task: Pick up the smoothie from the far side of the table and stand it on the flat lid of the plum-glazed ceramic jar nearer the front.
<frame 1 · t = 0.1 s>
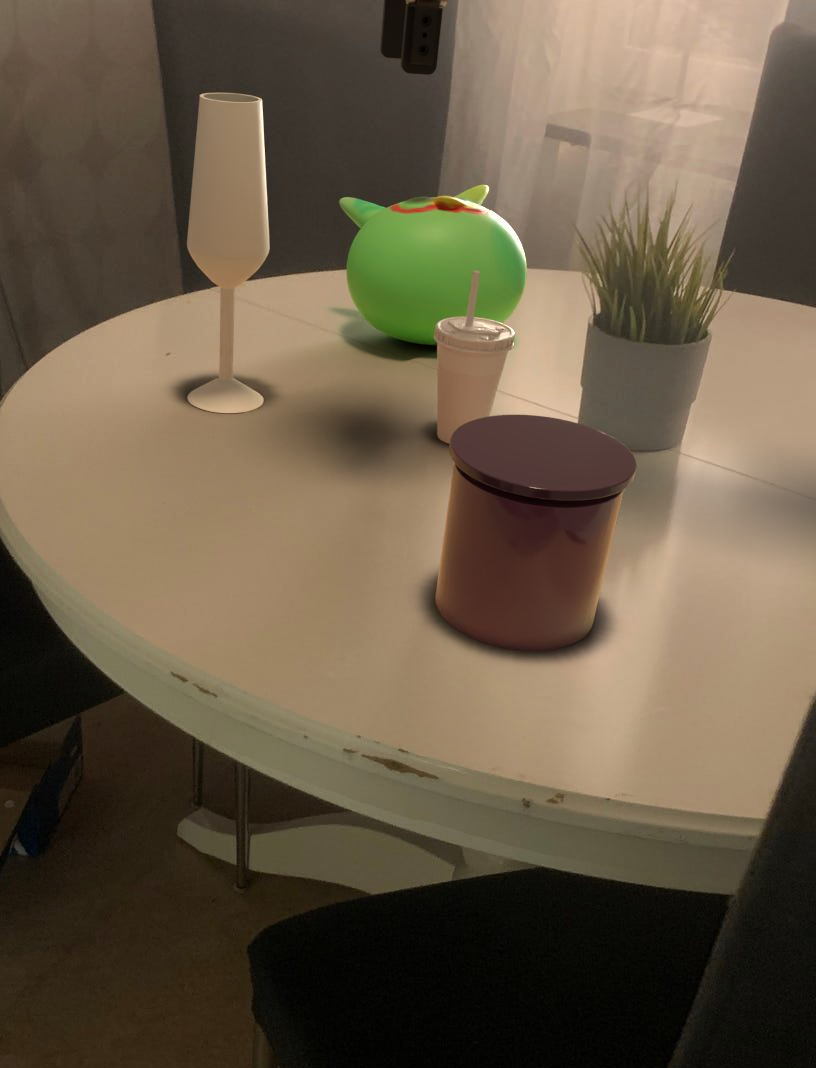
hand: (406, 65, 75), 28 cm above the table, tool pointing down, fingers open, 8 cm apart
jar: (512, 613, 71), on the table
smoothie: (458, 444, 93), on the table
green rounded blob: (426, 340, 116), on the table
champagne flute: (225, 400, 98), on the table
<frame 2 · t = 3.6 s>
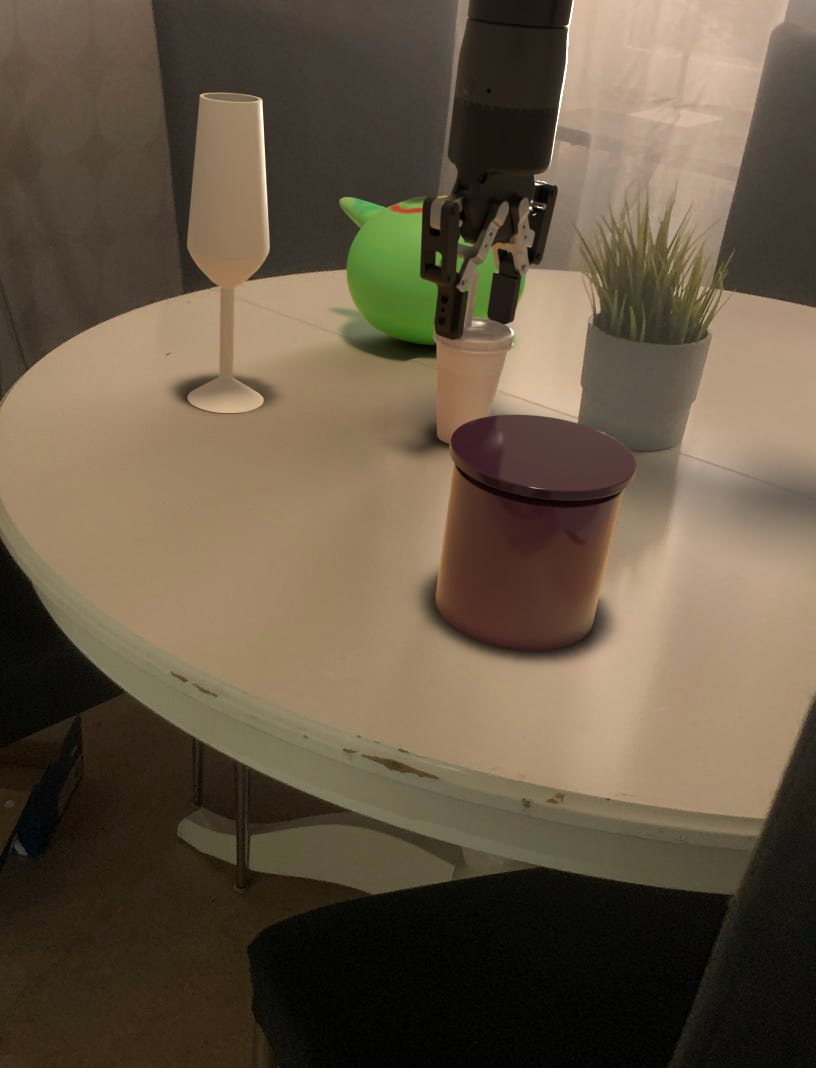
hand: (474, 328, 88), 10 cm above the table, tool pointing down, fingers closed on smoothie, 6 cm apart
smoothie: (458, 444, 93), on the table, touching gripper
everything else where it was.
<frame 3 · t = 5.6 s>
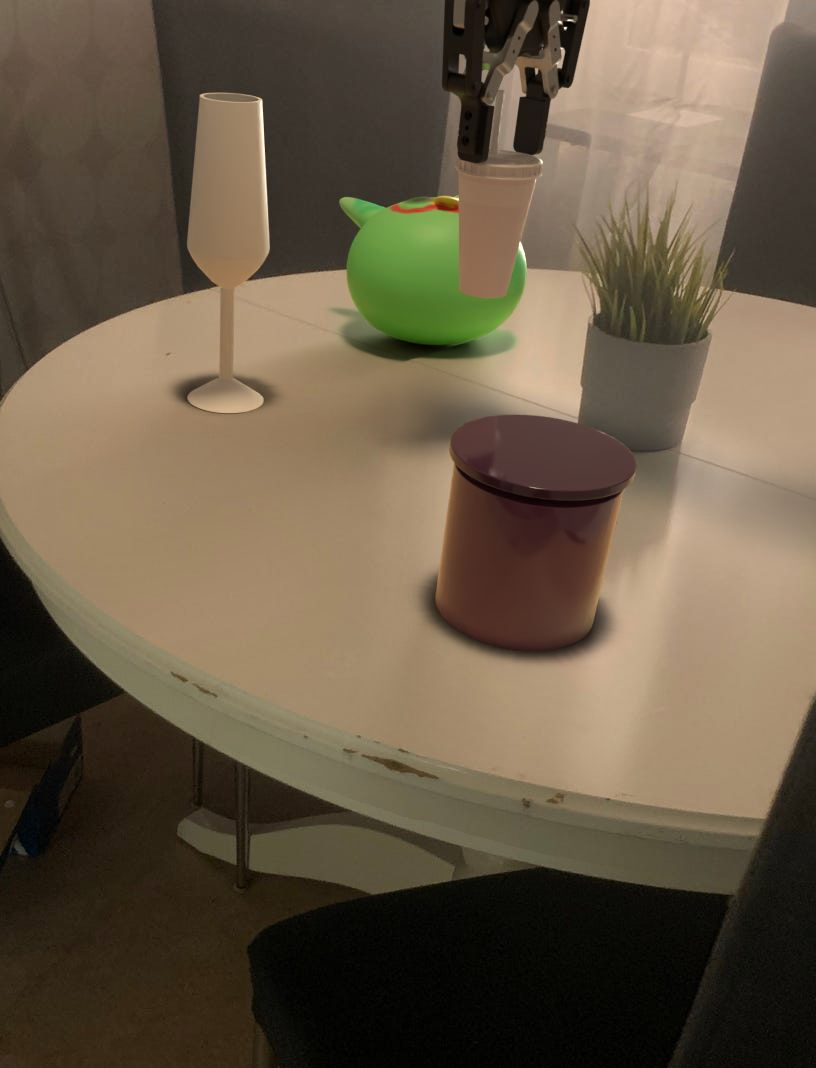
hand: (500, 156, 81), 22 cm above the table, tool pointing down, fingers closed on smoothie, 6 cm apart
smoothie: (482, 293, 86), point 12 cm above the table, touching gripper
everything else where it was.
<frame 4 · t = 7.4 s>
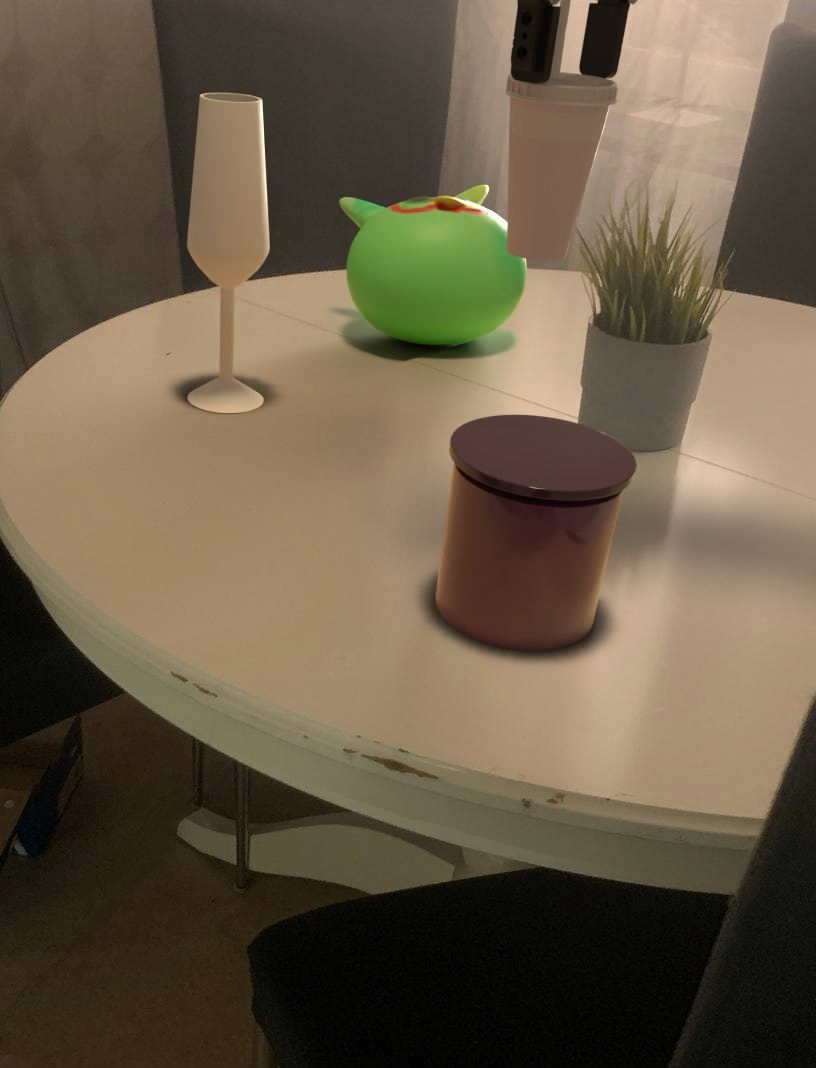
hand: (564, 78, 64), 29 cm above the table, tool pointing down, fingers closed on smoothie, 6 cm apart
smoothie: (536, 255, 69), point 20 cm above the table, touching gripper
everything else where it was.
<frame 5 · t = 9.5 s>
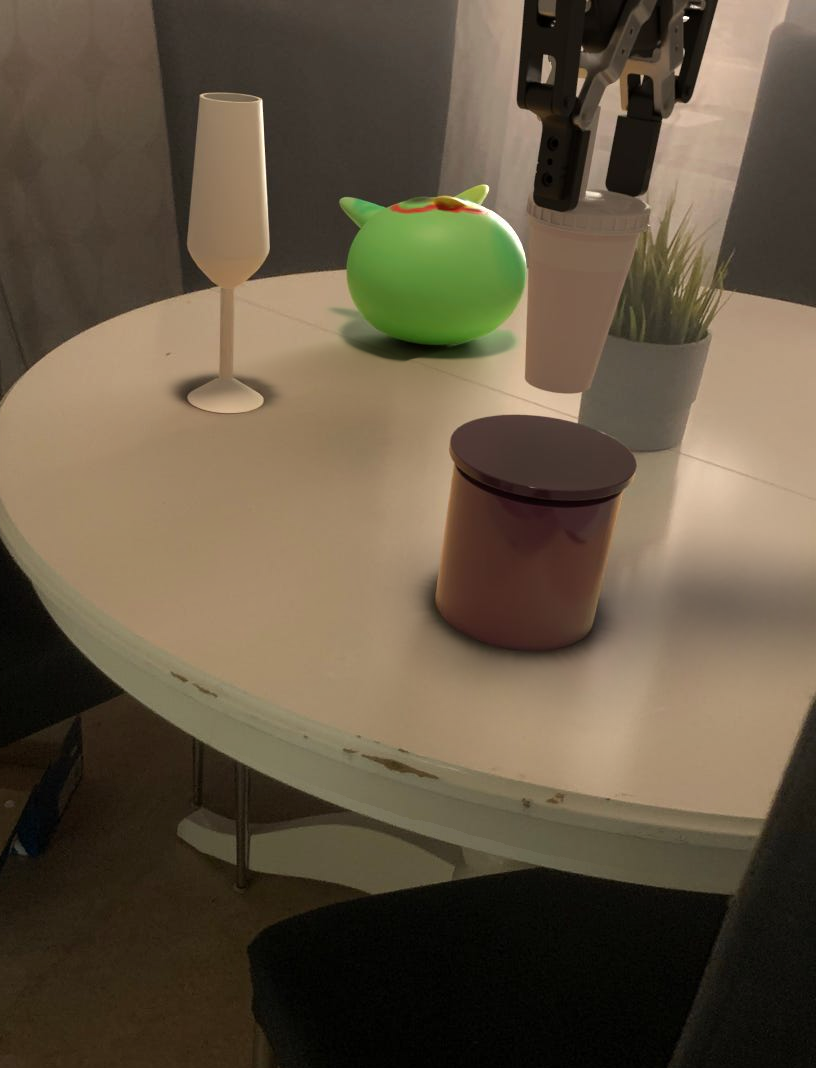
hand: (591, 199, 57), 25 cm above the table, tool pointing down, fingers closed on smoothie, 6 cm apart
smoothie: (557, 384, 63), point 15 cm above the table, touching gripper
everything else where it was.
when the fingers open (21 cm above the table, at t = 11.2 s): smoothie stays where it is, resting on jar.
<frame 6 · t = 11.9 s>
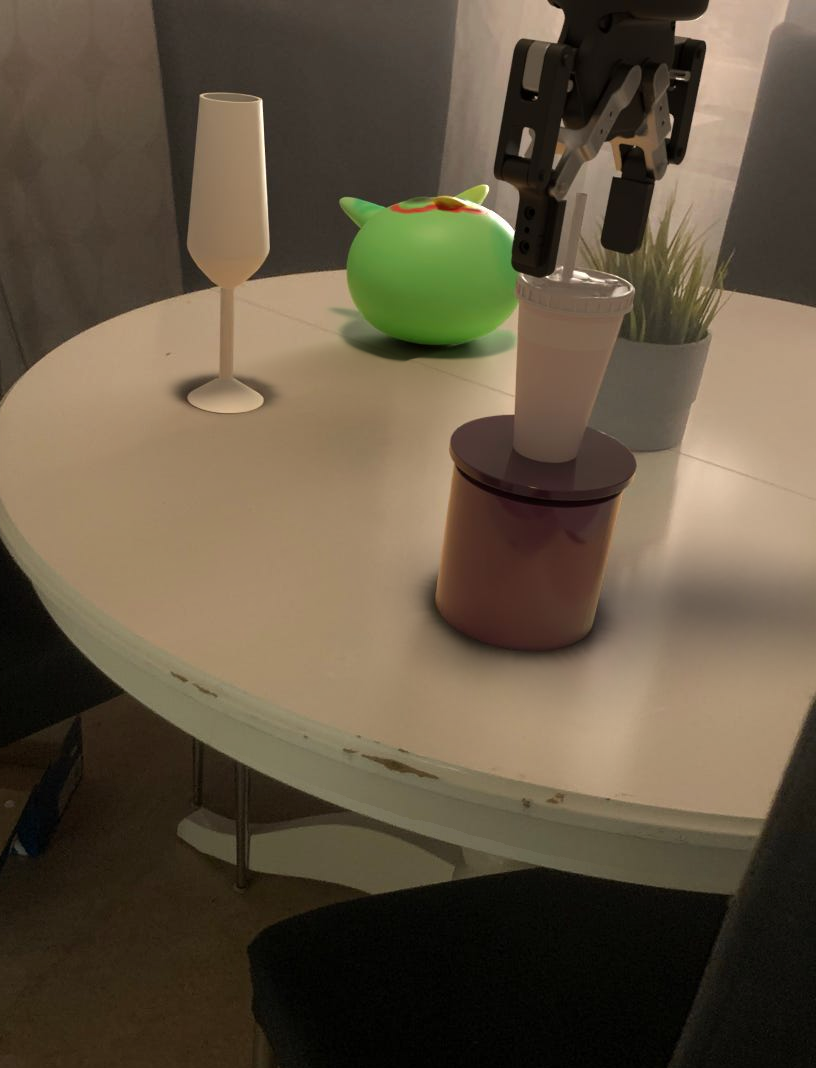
hand: (577, 261, 59), 22 cm above the table, tool pointing down, fingers open, 8 cm apart
smoothie: (544, 452, 65), point 11 cm above the table, touching jar
everything else where it was.
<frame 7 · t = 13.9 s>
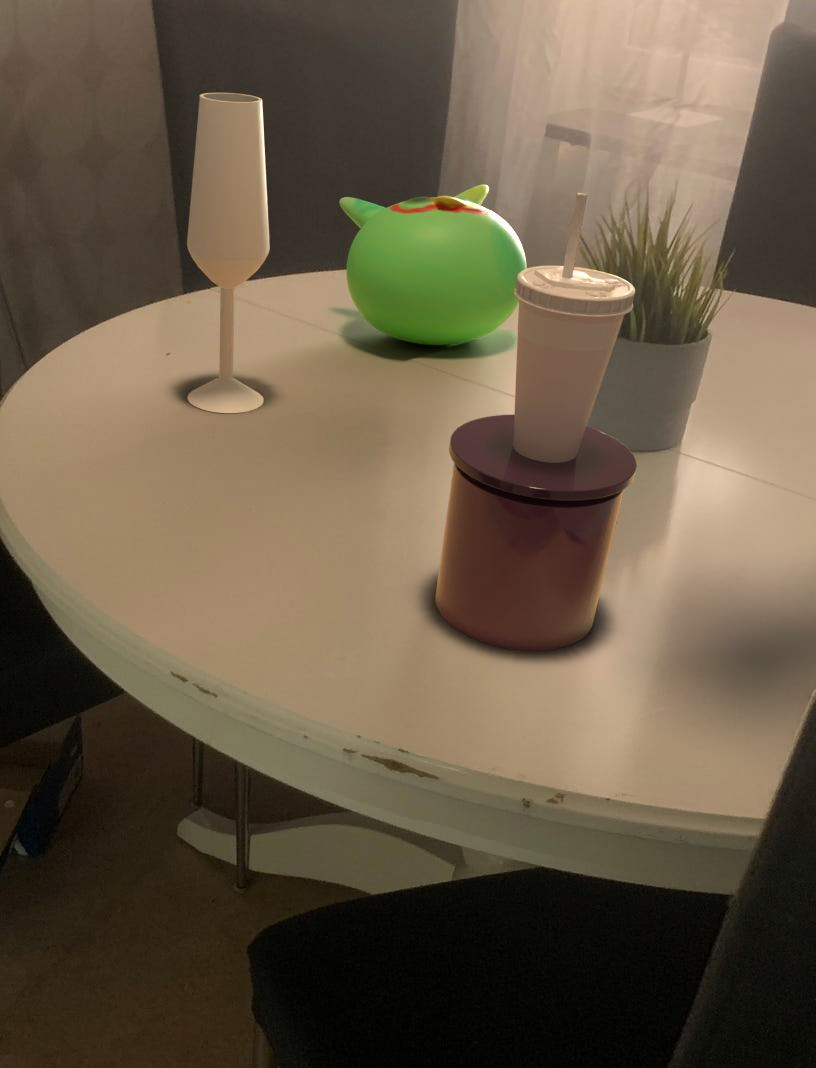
nothing on the table moved.
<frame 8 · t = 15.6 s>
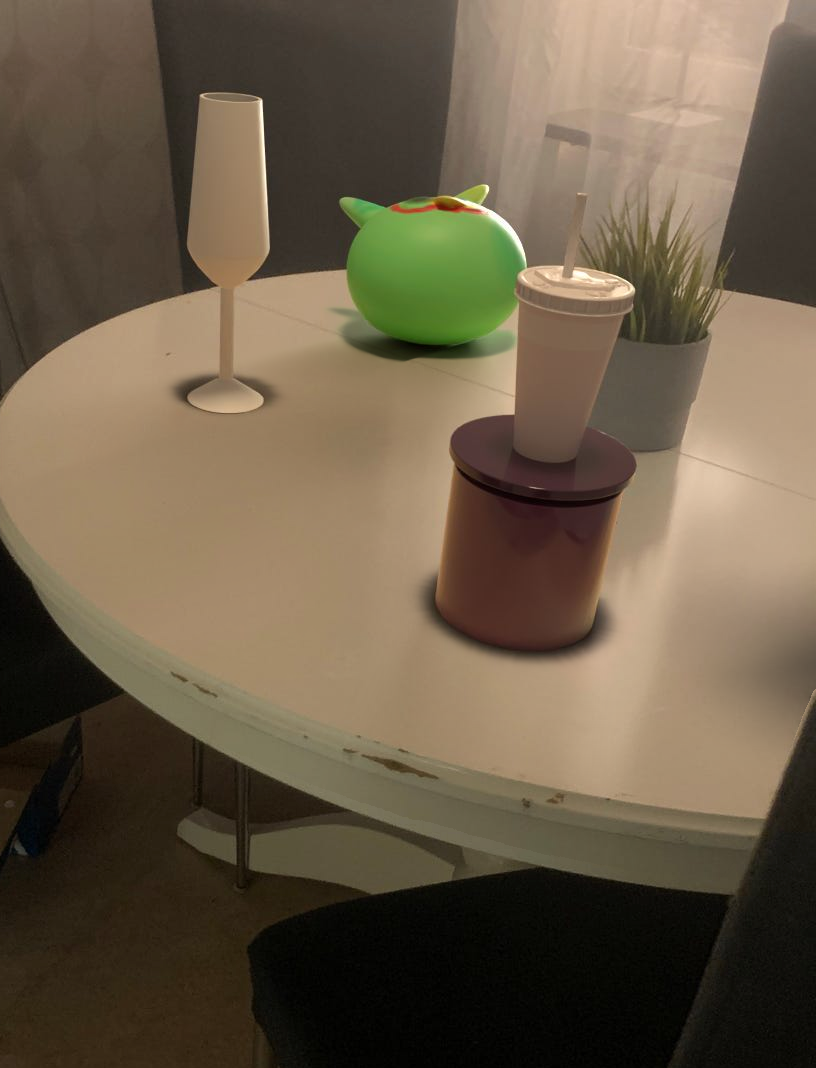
nothing on the table moved.
at the end: smoothie 0.1 cm off-centre on the jar, point 11.0 cm above the jar's base; smoothie tilted 0°; the gripper is holding nothing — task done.
